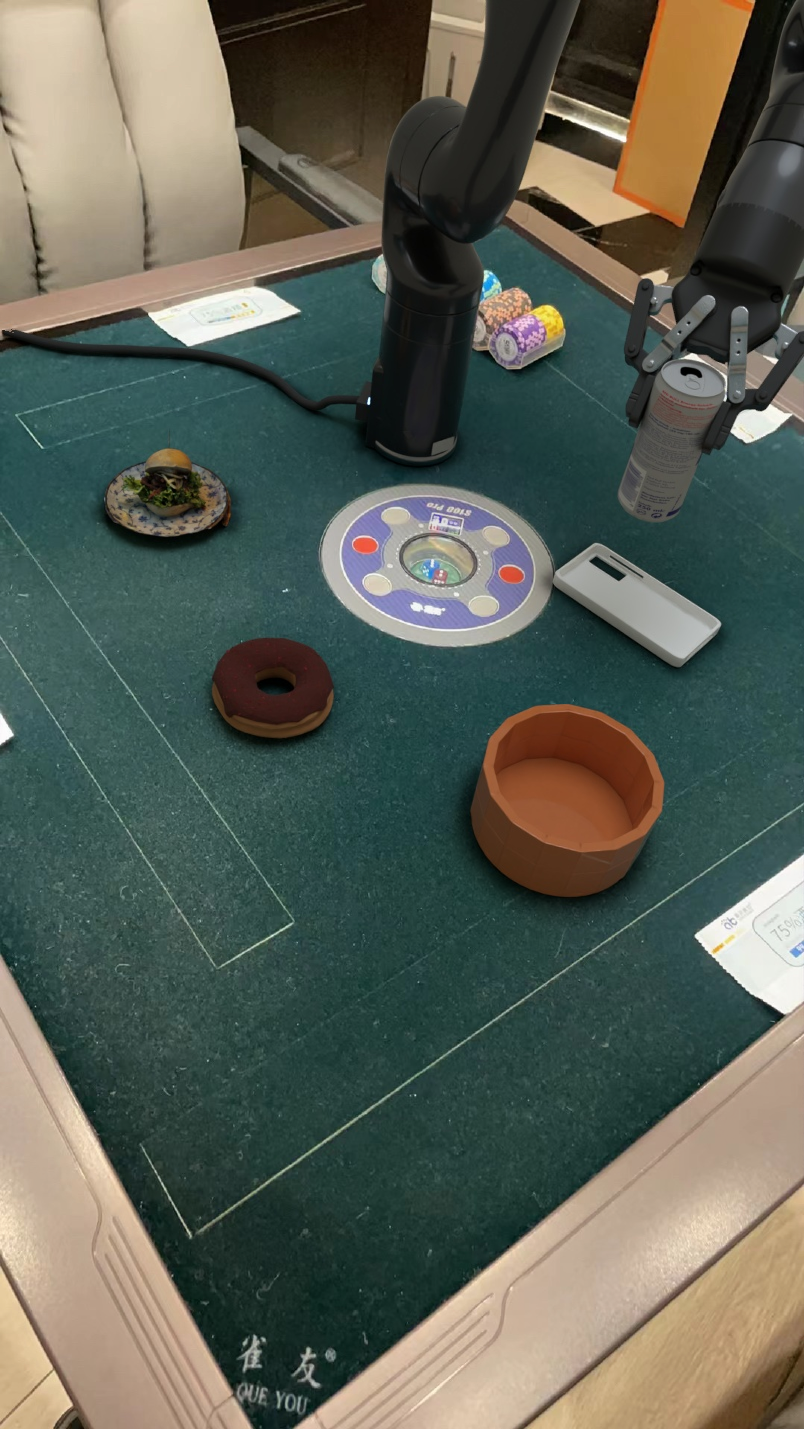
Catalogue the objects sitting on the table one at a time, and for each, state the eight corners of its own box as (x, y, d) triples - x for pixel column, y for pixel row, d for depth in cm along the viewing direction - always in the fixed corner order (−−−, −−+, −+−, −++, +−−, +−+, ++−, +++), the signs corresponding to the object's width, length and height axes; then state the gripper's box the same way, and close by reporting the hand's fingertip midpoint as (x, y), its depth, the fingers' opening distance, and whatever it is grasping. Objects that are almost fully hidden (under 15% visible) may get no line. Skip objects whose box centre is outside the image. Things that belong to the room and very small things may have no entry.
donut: (350, 679, 91) (353, 648, 88) (306, 762, 85) (308, 731, 82) (243, 643, 92) (242, 611, 89) (192, 723, 86) (190, 691, 83)
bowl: (455, 871, 80) (469, 823, 75) (487, 737, 88) (501, 686, 83) (631, 916, 79) (657, 871, 74) (645, 777, 88) (669, 728, 83)
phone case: (549, 583, 102) (677, 670, 96) (552, 573, 100) (681, 660, 95) (594, 550, 105) (719, 632, 100) (597, 540, 104) (724, 622, 99)
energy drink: (676, 487, 90) (725, 363, 80) (681, 528, 86) (732, 403, 77) (615, 478, 89) (656, 352, 80) (617, 519, 86) (660, 392, 77)
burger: (81, 524, 100) (70, 460, 94) (146, 458, 107) (140, 395, 101) (193, 566, 98) (189, 503, 92) (252, 496, 105) (252, 433, 99)
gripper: (848, 275, 81) (753, 481, 83) (672, 218, 84) (585, 418, 86) (866, 234, 74) (762, 461, 76) (673, 173, 77) (578, 393, 79)
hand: (668, 437), depth 81 cm, fingers closed on energy drink, 5 cm apart
